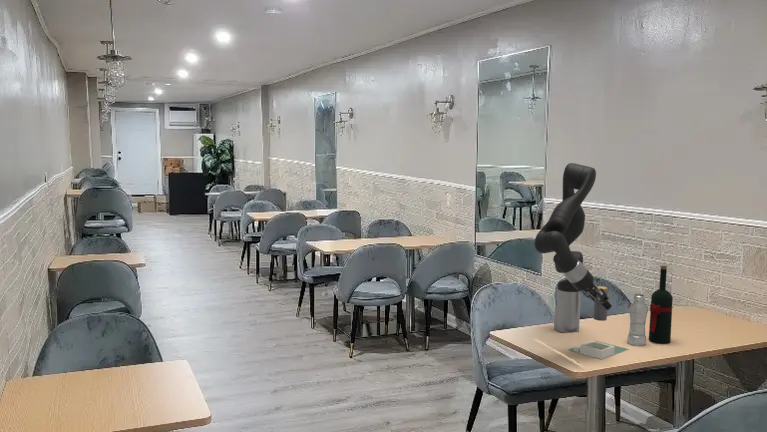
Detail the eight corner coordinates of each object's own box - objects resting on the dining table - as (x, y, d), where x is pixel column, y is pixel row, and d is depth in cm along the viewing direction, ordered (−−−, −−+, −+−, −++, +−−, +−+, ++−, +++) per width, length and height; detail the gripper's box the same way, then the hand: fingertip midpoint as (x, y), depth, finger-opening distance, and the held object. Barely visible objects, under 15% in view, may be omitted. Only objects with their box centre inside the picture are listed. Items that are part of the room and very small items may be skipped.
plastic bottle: (623, 344, 247) (626, 293, 245) (640, 343, 248) (643, 293, 246) (631, 349, 241) (634, 297, 239) (649, 349, 241) (651, 297, 239)
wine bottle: (641, 341, 251) (645, 265, 248) (655, 337, 257) (659, 263, 254) (660, 346, 245) (665, 269, 242) (674, 341, 251) (678, 266, 248)
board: (566, 353, 235) (567, 341, 235) (595, 343, 247) (595, 332, 247) (601, 362, 225) (601, 351, 224) (629, 352, 237) (629, 341, 236)
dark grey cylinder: (598, 321, 227) (599, 288, 226) (590, 317, 232) (592, 286, 231) (610, 320, 229) (612, 288, 228) (602, 317, 233) (604, 285, 232)
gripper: (596, 270, 220) (624, 303, 224) (573, 263, 233) (600, 294, 238) (581, 285, 219) (610, 318, 223) (559, 278, 232) (587, 309, 237)
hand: (605, 306), depth 230 cm, fingers closed on dark grey cylinder, 4 cm apart
